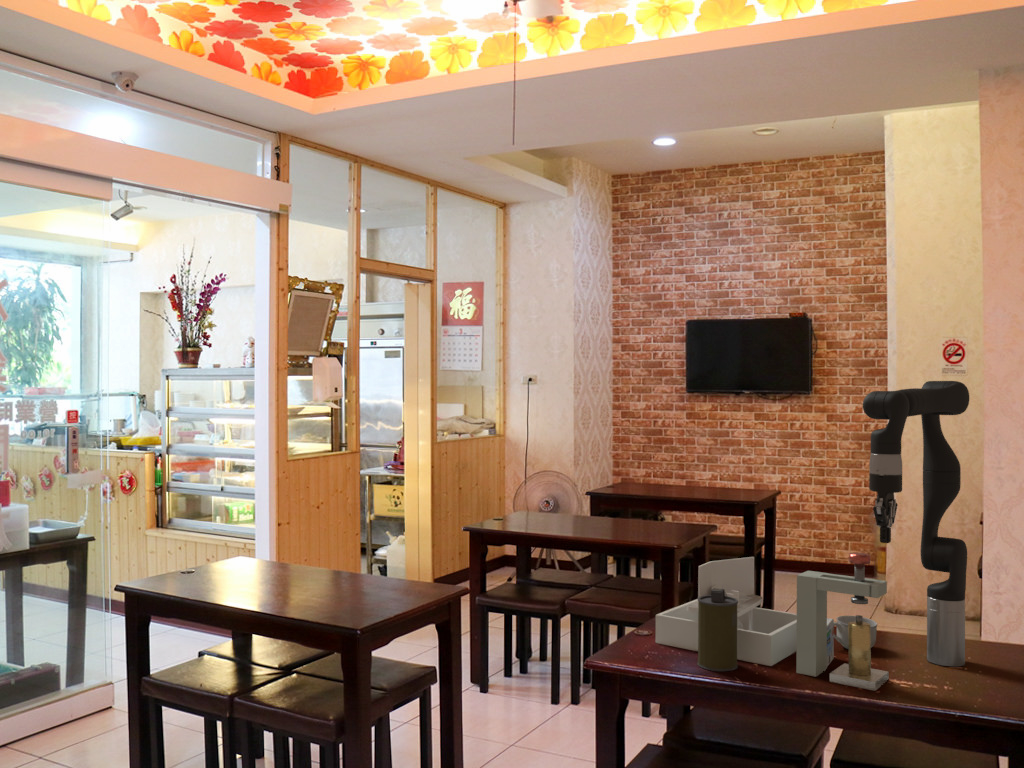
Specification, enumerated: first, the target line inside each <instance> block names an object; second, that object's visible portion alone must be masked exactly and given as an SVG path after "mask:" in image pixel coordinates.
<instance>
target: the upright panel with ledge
mask: <svg viewBox="0 0 1024 768" xmlns="http://www.w3.org/2000/svg"><path fill="white" fill-rule="evenodd" d="M697 570H698V571H697V572H698V573H697V574H698V577H697V579H698V580H697V584H698V585H697V588H698V589H697V590H698V591H697V599H698V598H699V597H700V596H706V595H711V591H712V589H713V588H719V589H725V593H726V594H727V595H726V594H725V595H726V596H728V597H732V598H735V599H737V600H738V603H737V628H738V629H744V630H749V631H753V608H755V607H758V606H760V605H761V604H762V603H764V601H763V599H764V598H763V596H760V595H756V594H755V556H749V557H748V556H747V557H741V558H740V557H739V558H729V559H721V560H720V559H719V560H712V561H708V562H706V563H703V564H701V565H698V569H697ZM698 603H699V601H698V600H697V601H695V602H693V603H691V604H689V605H687V611H691V612H698Z"/></svg>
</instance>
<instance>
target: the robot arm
mask: <svg viewBox="0 0 1024 768" xmlns="http://www.w3.org/2000/svg"><path fill="white" fill-rule="evenodd" d="M969 404H970V392H969V388H968V387H967V386H966V385H965V383H963V382H960V381H957V380H956V381H955V380H928V381H925V382H924V384H923V385H922V386H921V388H916V387H915V388H903V389H902V388H901V389H899V390H875V391H870V392H869V393H868V394H866V395H865V397H863V401H862V409H863V411H864V414H865V415H866V416H867V417H868V418H870V419H872V420H882V421H883V420H888V422H887V424H886V426H885V427H884V428H878V429H876V430H873V431H872V432H871V434H870V458H869V464H868V467H869V469H868V470H869V471H868V475H869V476H868V478H869V479H868V481H869V482H868V483H869V485H868V486H869V487H868V488H869V491H871V492H876V493H877V495H876V498H875V500H874V502H875V503H874V506H873V507H872V511H873V515H874V518H875V522H876V526H878V528H879V542H880V544H881V543H882V544H889V543H891V541H892V527H893V525H894V524H895V519H896V515H897V509H898V503H897V500H896V499H895V494H896V493H901V492H902V491H903V460H902V459H903V458H902V437H903V433H904V429H905V425H906V422H907V419H908V417H914V416H915V417H916V416H921V427H922V440H923V441H922V444H923V445H922V447H923V448H922V449H923V450H922V451H923V452H922V453H923V455H922V456H923V458H922V496H923V497H922V498H923V499H922V500H923V503H922V504H923V506H922V507H923V510H922V511H923V512H922V513H923V514H922V515H923V516H922V524H921V525H922V526H921V539H920V540H921V541H920V561H921V564H922V565H921V566H923V568H924V569H926V570H928V571H934V572H940V573H948V578H947V579H946V580H944V581H941V582H935V583H930V584H929V585H928V586H927V587H926V660H927V661H928V662H930V663H931V664H935V665H938V666H942V667H943V666H945V667H962V666H965V665H966V589H967V569H968V565H967V564H968V547H967V544H966V542H965V540H963V539H962V538H961V539H960V538H954V537H944V536H939V527H940V523H941V521H942V518H943V517H944V515H945V514H946V511H947V510H948V509H949V508H950V506H951V505H952V503H953V502H954V501H955V500H956V498H957V496H959V493H960V490H961V478H962V477H961V476H962V475H961V464H960V460H959V458H958V456H957V455H956V453H955V452H954V450H953V448H952V447H951V445H950V444H949V443H948V441H947V439H946V438H945V434H944V433H943V429H942V425H941V419H940V417H941V416H959V415H961V414H964V413H965V412H966V410H967V409H968V408H969Z"/></svg>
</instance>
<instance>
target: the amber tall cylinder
mask: <svg viewBox="0 0 1024 768" xmlns="http://www.w3.org/2000/svg"><path fill="white" fill-rule="evenodd" d="M855 616H856V622H849V623H848V648H849V649H848V664H849V672H850V673H852V674H855V675H870V674H871V668H872V658H871V657H872V655H871V654H872V652H871V651H872V650H871V648H872V647H871V634H870V624H869V623H865V622H863V615H859V614H857V615H855Z"/></svg>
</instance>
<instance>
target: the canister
mask: <svg viewBox="0 0 1024 768" xmlns="http://www.w3.org/2000/svg"><path fill="white" fill-rule="evenodd" d="M725 594H726V593H725V589H719V588H713V589H712V591H711V595H706V596H700V597H699V598H698V597H697V599H698V601H699V603H698V651H697V663H696V664H697V667H700V668H701V669H704V670H707V671H712V672H730V671H735V670H736V669H738V667H739V665H738V659H737V603H738V600H737V599H735V598H732V597H728V596H726V595H727V594H726V595H725Z"/></svg>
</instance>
